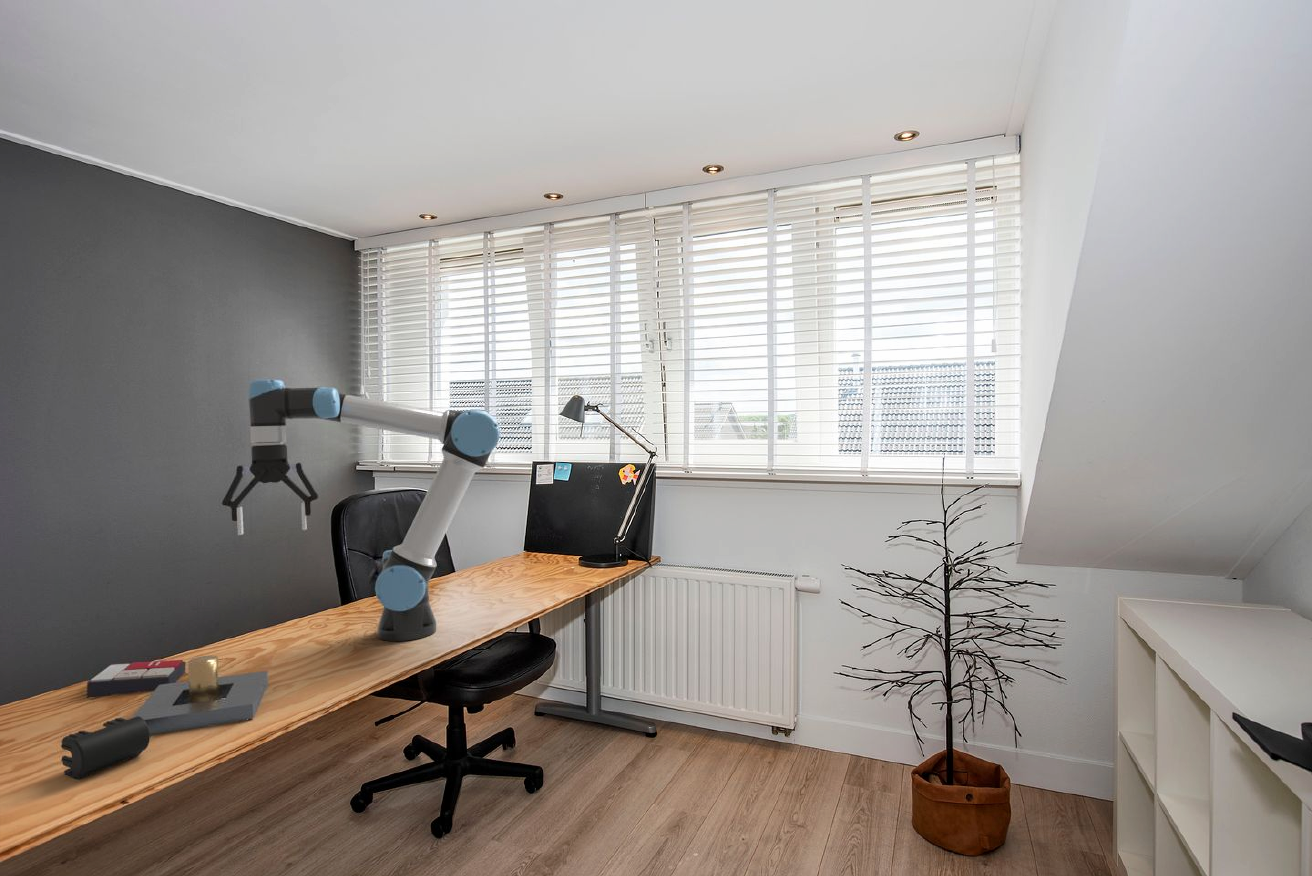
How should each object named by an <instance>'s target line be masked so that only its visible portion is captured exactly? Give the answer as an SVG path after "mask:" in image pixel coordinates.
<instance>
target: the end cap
mask: <svg viewBox="0 0 1312 876" xmlns="http://www.w3.org/2000/svg"><path fill="white" fill-rule="evenodd" d="M102 726H103V727H104V728H100V729H98V730H95V731H86V730H83V729H82V730H78V731H77V732H75V733H70V734H69V735H67V736H65V737H63V738H62V739H61V745H60V747H61V749H62V750H64V751H67V752H69V753H70V754H71V756H68V755H63V756H61V759H60V760H61V761H60V762H61V763H62V764H61V765H63V766H64V767H67V769H64V771H63V774H64V776H67V777H69V778H72V779H75V780H80V779H82V778H85V777H88V776H90V775H93V774H95V773H97V772H99V771H103V770H105V769H107V768H110V767H113V766H115V765H117V764H120V763H122V762H125V761H127V760H128V761H129V760H130V759H133V758H135V757H137V756H139V755H141V754H142V753H143V751H145V750H146V749H147V748H148V746H149V743H150V740H151V739H150V738H151V737H150V736H151V735H150V734H149V729H148V726H147V724H146V722H145V721H144V719H143V718H141V717H139V716H137V717H134V718H132V717H131V718H128V719H126V718H123V717H119V718H115V719H112V720H108V721H106V722H103V723H102Z"/></svg>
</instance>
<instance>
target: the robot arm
mask: <svg viewBox="0 0 1312 876" xmlns="http://www.w3.org/2000/svg"><path fill="white" fill-rule="evenodd" d="M248 387H249V389H248V391H249V392H248V395H249V396H248V404H249V405H248V406H249V418H250V419H249V420H250V427H249V428H250V431H249V432H250V443H252V444H253V445H252V446H251V447H250V448H251V449H250V450H251V451H250V452H251V465H249V466H248V465H241V464H240V465H238V466H236V472H235V474H236V475H235V476H234V478H233V480H232V483H231V484H230V486H229V488H228V490H227V492H226V494H225V496H224V498H223V500H222V502H221V505H222V506H226V507H229V508H230V509H231V521H233V522H237V526H236V527H237V536H242V535H244V519H243V517H244V515H243V506H239V505H241V503H242V501H244V500H245V498H246V497H247V496H248V495H249V494H250V493H251V491H252V490H253V489H254V488H255V487H256V486H257V485H258V483H263V484H267V483H275V484H276V483H279V482H281V481H282V482H283V483H284V484H285V485H286V486H287V487H288V488H290V490H292V492H293V493H295V494H296V495H297V496H298V497H299V498H300V499H301V500H302V501H303V502H301V504H300V506H301V530H302V531H306V530H307V529H308V527H307V524H308V523H307V516H311V513H312V508H311V507H312V506H311V505H312V504H311V503H312V502H313V501H315V500H317V499H319V494H318V493H317V491H316V489H315V487H314V486H313V484H312V483H311V481H310V479H309V478H308V476H307V474H306V473H305V471H304V467H303V464H302V463H303V462H296V463H292V464H289V461H288V445H286V444H285V443H286V442H287V440H288V439H287V438H288V437H287V426H286V423H287V422H286V421H287V419H288V420H293V419H295V420H297V419H303V420H304V419H315V420H316V419H317V420H324V421H325V420H326V421H331V422H337V423H344V424H348V425H353V426H360V427H366V428H372V429H377V430H384V431H389V432H393V433H394V432H395V433H400V434H406V435H411V436H416V437H423V438H429V439H433V440H437V441H439V442H440V444H442V448H441V452H442V453H441V454H442V456H443V459H442V460H441V461H442V462H441V464H440V465H439V468H438V469H437V472H436V474H435V475H434V478H433V480H432V482H431V484H430V486H429V488H428V490H427V492H426V494H425V495H424V496H425V497H424V498H423V501H422V502H421V504H420V506H419V508H418V510H417V512H416V515H415V517H414V518H413V520H412V523H411V525H410V527H409V528H408V531H407V533H406V535H405V537H404V539H403V541H402V543H401V544H399V545H396V546H393V548H392V549H390V550H385V551H383V553H382V559H381V563H382V570H381V572H380V573H379V574H378V576H377V578H376V581H375V586H374V590H375V596H376V598H377V600H378V601H379V603H380V604H381V605H382V606H383V609H382V612H381V615H380V618H379V621H378V626H377V629H376V631H377V638H379V639H380V640H381V641H387V642H388V641H389V642H405V641H412V640H418V639H422V638H426V637H428V636H430V635H433V634H434V633H436V632H437V620H436V617H435V616H434V612H433V609H432V607H431V604H430V597H429V596H430V590H429V586H430V585H429V583H430V580H431V578H432V576H433V574H434V572H435V570H436V568H437V566H438V565H437V562H436V558H435V556H436V554H437V552H438V550H439V548H440V546H441V544H442V542H443V539H444V538H445V535H446V533H447V531H448V530H449V527H450V525H451V523H452V520H453V519H454V516H455V514H456V512H457V510H458V508H459V507H460V505H461V502H462V500H463V498H464V496H465V494H466V491H467V490H468V488H469V485H470V483H471V481H472V479H473V477H474V475H475V473H476V472H477V471H480V470H483V469H484V468H485V466H486V464H487V462H488V460H489V458H490V456H491V454H492V452H493V450H494V449H495V448H496V447H497V445H498V443H499V440H500V436H501V435H500V432H501V431H500V426H499V424H498V422H497V420H496V418H495V417H494V416H493V415H492V414H490V413H488V412H487V411H484V410H482V409H477V408H476V409H469V410H468V409H467V410H465V411H458V410H451V409H447V410H445V411H444V412H443V411H438V410H437V411H436V410H432V409H427V408H422V407H421V408H420V407H415V406H410V405H404V404H399V403H394V402H388V401H382V400H377V399H371V398H367V397H363V396H362V397H361V396H357V395H356V396H355V395H350V394H346V393H340V392H339V391H338V389H336V388H335V387H325V386H319V387H296V388H295V387H293V388H291V387H286V386H285V383H284V380H281V379H255V380H252V381H250V383H249V385H248ZM290 470H293V473H297V476H298V477H299V478H300V480H301V482H302V484H303V485H304V487H305V488H306V490H307V492H308V493H309V496H308V495H307V493H306V492H304V491H303V489H302V488H300V487H299V486H298V485H297V484H296V483H295V482H294V481H293V480H291V478H290V477H289V476H288V475H287V474H288V473H289V471H290ZM248 472H250V473H251V474H252V475H253V476H254V477H253V479H251V481H250V482H249V483H248V484H247V485H246V487H244V488H243V490H242V491H241V492H240V493H239V495H238V496H236V498H235V499H234V500H232V499H233V498H234V495H235V493H236V492H237V489H238V487H239V485H240V483H241V482H242V480H243V477H244V476H245V475H247V474H248Z"/></svg>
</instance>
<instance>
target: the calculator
mask: <svg viewBox="0 0 1312 876" xmlns="http://www.w3.org/2000/svg"><path fill="white" fill-rule="evenodd" d="M186 664H187V663H186V661H184V660H183V659H173V660H172V659H171V660H155V661H137V662H132V663H118V664H117V663H115V664H110V665H108V667H106V668H105V669H103V670H102V671H101V672H99V673H98V674H97V675H95V676H94V677H92V678H91V679H90V680H88V682H87V684H86V699H90V698H89V697H94V698H101V697H109V696H114V695H123V694H125V695H126V694H135V693H145V692H144V691H146V692H153V691H152V690H155V689H156V688H157V687H158V686H159V685H162V684H169V683H177V682H178V680H179V679H181V678H182V677H183V676H184V674H185V673H186Z"/></svg>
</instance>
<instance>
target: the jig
mask: <svg viewBox="0 0 1312 876" xmlns="http://www.w3.org/2000/svg"><path fill="white" fill-rule="evenodd" d="M218 685H219V699H218V700H211V701H204V702H197V703H190V704H189V680H186V681H179V682H178V681H176V682H175V683H169V684H162V685H159V686H158V687H157V688H156V689H155V690H154V691H152V693H151V694H150V695H149V696H148V697H147V699H146V700H145V701H144V703H142V704H141V706H139V708H138V710H137V711H136V712H135V713H134V714H133V715H132V716H131V718H134V717H137V716H139V717H141V718H143V719H144V721H145V722H146V724H147V726H148V729H149V734H150V736H153V735H161V734H166V733H173V732H179V731H185V730H192V729H193V730H194V729H200V728H206V727H212V726H214V727H215V726H219V725H225V724H226V723H227V724H233V723H238V722H237V721H240V722H244V721H243V720H246V721H248V720H247V719H253V718H255V716H256V714H257V712H256V711H258V709H259V707H260V705H259V704H261V702H262V700H261V699H263V698H264V695H265V693H264V692H266V690H267V688H268V686H267V685H269V670H262V671H256V672H247V673H239V674H238V673H237V674H233V675H232V674H231V675H224V676H218ZM266 687H267V688H266ZM221 698H225V699H221ZM257 708H258V709H257ZM253 720H254V719H253ZM232 722H233V723H232ZM227 724H226V725H227Z"/></svg>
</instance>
